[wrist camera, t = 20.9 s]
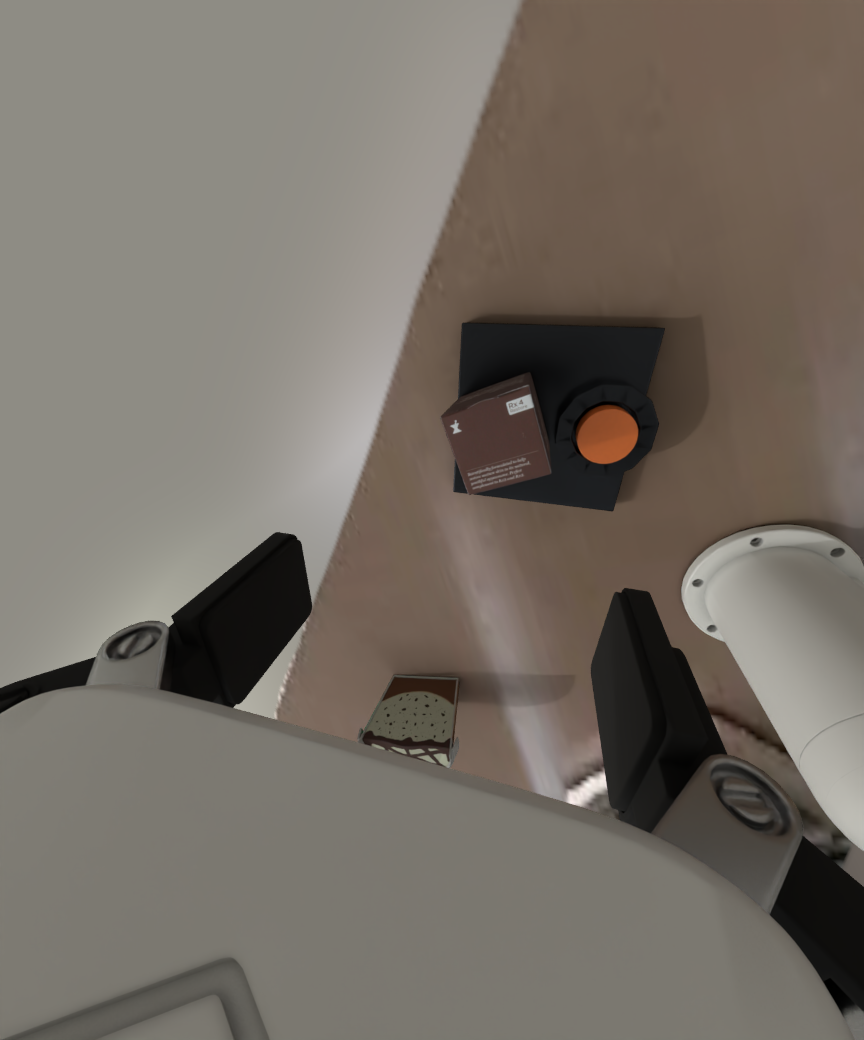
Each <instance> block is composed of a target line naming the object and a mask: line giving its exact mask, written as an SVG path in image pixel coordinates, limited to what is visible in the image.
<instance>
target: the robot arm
mask: <svg viewBox="0 0 864 1040" xmlns="http://www.w3.org/2000/svg"><path fill="white" fill-rule="evenodd" d="M681 592H682V601H683V604H684V607H685V609H686V611H687V613H688V615H689V617H690V619H691V620H692V621H693V622H694V623H695V624H696V626H697V627H698V628H700V629H701V630H702V631H703V632H705V633H706V634H708V635H710V636H712V637H714V638H716V639H718V640H721V641H724V642H726V644H727V646H728V648H729V649H730V651H731V653H732V655H733V656H734V658H735V660H736V662H737V663H738V665H739V667H740V669H741V670H742V672H743V674H744V676H745V677H746V679H747V681H748V683H749V684H750V686H751V688H752V690H753V691H754V693H755V695H756V697H757V698H758V700H759V702H760V703H761V705H762V707H763V709H764V710H765V712H766V714H767V716H768V717H769V719H770V721H771V723H772V724H773V726H774V728H775V730H776V731H777V733H778V735H779V737H780V738H781V740H782V742H783V744H784V745H785V747H786V749H787V751H788V752H789V754H790V756H791V758H792V759H793V761H794V763H795V764H796V766H797V768H798V770H799V771H800V773H801V775H802V777H803V778H804V780H805V781H806V783H807V785H808V786H809V788H810V790H811V792H812V793H813V795H814V797H815V799H816V800H817V802H818V803H819V805H820V806H821V808H822V809H823V810H824V812H825V813H826V814H827V816H828V817H829V818H830V819H831V821H832V822H833V823H834V824H835V825H836V826H837V827H838V829H839V830H840V831H841V832H842V833H843V834H844V835H845V836H846V837H847V838H848V839H849V840H850V841H851V842H853V843H854V844H855V845H856V846H858V847H859V848H860V849H861V850H863V851H864V565H863V563H862V561H861V559H860V557H859V556H858V555H857V554H856V553H855V552H854V551H853V550H852V548H851V547H849V546H848V545H847V544H845V543H844V542H842V541H841V540H840V539H838V538H837V537H835V536H833V535H831V534H829V533H827V532H825V531H822V530H818V529H815V528H811V527H807V526H799V525H769V526H762V527H756V528H752V529H748V530H745V531H741V532H738V533H735V534H733V535H731V536H729V537H726V538H724V539H722V540H720V541H718V542H717V543H715V544H714V545H712V546H710V547H709V548H707V549H706V550H705V551H704V552H703V553H702V554H701V555H699V556H698V557H697V558H696V559H695V561H694V562H693V563H692V564H691V566H690V567H689V569H688V571H687V573H686V575H685V577H684V579H683V583H682V588H681ZM311 610H312V602H311V596H310V590H309V585H308V579H307V573H306V567H305V561H304V556H303V550H302V544H301V542H300V541H299V540H297V537H296V536H295V535H292V534H286V533H280V532H276V533H274V534H273V535H271V536H270V537H269V538H268V539H267V540H265V541H264V542H263V543H261V544H260V545H259V546H258V547H256V548H255V549H254V550H253V551H252V552H250V553H249V554H248V555H247V556H245V557H244V558H243V559H242V560H240V561H239V562H238V563H237V564H235V565H234V566H233V567H232V568H230V569H229V570H228V571H227V572H225V573H224V574H223V575H222V576H221V577H219V578H218V579H217V580H216V581H215V582H213V583H212V584H211V585H210V586H208V587H207V588H206V589H205V590H203V591H202V592H201V593H199V594H198V595H197V596H196V597H195V598H193V599H192V600H191V601H190V602H188V603H187V604H186V605H185V606H183V607H182V608H181V609H180V610H178V611H177V612H176V613H175V614H174V615H172V616H171V617H172V619H173V621H174V623H173V624H172V625H171V626H170V627H168V626H167V625H166V624H165V623H163V622H160V621H145V622H140V623H137V624H134V625H131V626H128V627H126V628H124V629H122V630H120V631H118V632H117V633H115V634H114V635H112V636H111V637H109V638H108V639H107V641H105V642H104V643H103V644H102V646H101V648H100V649H99V651H98V654H97V656H96V657H94V658H91V659H88V660H85V661H81V662H78V663H75V664H72V665H69V666H65V667H62V668H59V669H56V670H53V671H49V672H46V673H43V674H40V675H36V676H33V677H31V678H27V679H24V680H21V681H17V682H15V683H12V684H10V685H7V686H4V687H2V688H0V1040H864V887H863V886H862V885H861V884H860V883H858V882H857V881H856V880H854V878H852V877H851V876H850V875H849V874H848V873H846V872H845V871H844V870H843V869H842V868H841V867H839V866H838V865H837V864H836V863H835V862H833V861H832V860H831V859H830V858H829V857H827V856H826V855H825V854H824V853H823V852H821V851H820V850H819V849H818V848H817V847H816V846H814V845H813V844H812V843H811V842H810V841H808V840H807V839H806V838H805V837H804V836H802V834H803V823H802V820H801V817H800V813H799V811H798V809H797V808H796V806H795V804H794V803H793V801H792V799H791V798H790V796H789V795H788V794H787V793H786V792H785V791H784V790H783V788H782V787H781V786H780V785H779V784H778V783H777V782H776V781H775V780H774V779H772V778H771V777H770V776H769V775H768V774H766V773H765V772H764V771H763V770H761V769H759V768H758V767H756V766H755V765H753V764H751V763H750V762H748V761H745V760H743V759H740V758H738V757H735V756H731V755H727V752H726V750H725V748H724V745H723V743H722V741H721V738H720V736H719V734H718V731H717V729H716V727H715V725H714V722H713V720H712V718H711V715H710V713H709V711H708V708H707V706H706V704H705V701H704V699H703V697H702V694H701V692H700V690H699V687H698V685H697V683H696V680H695V678H694V676H693V673H692V671H691V669H690V666H689V664H688V662H687V659H686V657H685V655H684V654H683V652H682V651H681V650H680V649H678V648H673V647H671V645H670V642H669V640H668V637H667V635H666V632H665V630H664V627H663V625H662V622H661V620H660V617H659V615H658V612H657V610H656V607H655V605H654V602H653V600H652V597H651V595H650V593H649V592H647V591H641V590H635V589H628V588H624V589H623V590H622V593H619V592H615V594H614V596H613V598H612V601H611V605H610V608H609V611H608V614H607V617H606V620H605V623H604V626H603V629H602V632H601V635H600V638H599V642H598V645H597V648H596V651H595V654H594V657H593V660H592V664H591V678H592V685H593V692H594V699H595V706H596V713H597V720H598V727H599V734H600V741H601V748H602V754H603V761H604V768H605V775H606V782H607V789H608V796H609V802H610V805H611V807H612V808H614V809H617V810H618V811H619V817H620V821H619V820H617V819H614V818H611V817H608V816H605V815H602V814H600V813H597V812H594V811H591V810H588V809H585V808H582V807H579V806H576V805H572V804H569V803H566V802H562V801H559V800H556V799H553V798H549V797H546V796H543V795H539V794H536V793H533V792H530V791H526V790H523V789H520V788H516V787H513V786H510V785H506V784H503V783H499V782H496V781H492V780H489V779H485V778H482V777H478V776H475V775H471V774H468V773H464V772H461V771H457V770H453V769H450V768H446V767H443V766H439V765H436V764H432V763H429V762H425V761H422V760H418V759H415V758H411V757H408V756H404V755H401V754H397V753H394V752H390V751H386V750H383V749H379V748H376V747H372V746H369V745H365V744H361V743H358V742H354V741H351V740H347V739H344V738H340V737H336V736H333V735H329V734H326V733H322V732H318V731H315V730H311V729H308V728H304V727H300V726H297V725H293V724H290V723H286V722H282V721H279V720H275V719H271V718H268V717H264V716H260V715H257V714H253V713H249V712H246V711H241V710H238V709H235V708H233V707H234V706H235V705H236V704H240V703H241V702H242V701H243V700H244V699H245V698H246V697H247V695H248V694H249V693H250V691H251V690H252V689H253V687H254V686H255V685H256V684H257V682H258V681H259V680H260V678H261V677H262V676H263V675H264V673H265V672H266V671H267V669H268V668H269V667H270V666H271V664H272V663H273V662H274V660H275V659H276V658H277V656H278V655H279V654H280V653H281V651H282V650H283V649H284V647H285V646H286V645H287V644H288V642H289V641H290V640H291V639H292V637H293V636H294V635H295V633H296V632H297V631H298V629H299V628H300V627H301V626H302V624H303V623H304V622H305V621H306V619H307V618H308V617H309V615H310V613H311Z"/></svg>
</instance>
